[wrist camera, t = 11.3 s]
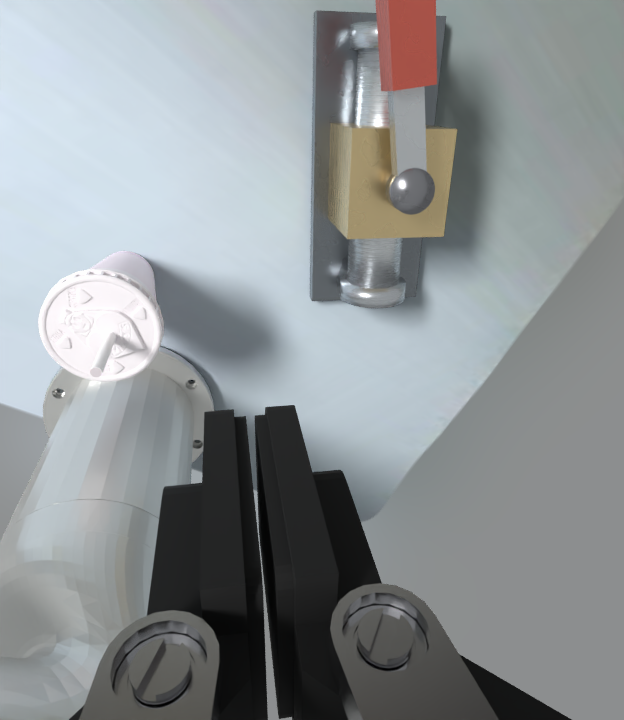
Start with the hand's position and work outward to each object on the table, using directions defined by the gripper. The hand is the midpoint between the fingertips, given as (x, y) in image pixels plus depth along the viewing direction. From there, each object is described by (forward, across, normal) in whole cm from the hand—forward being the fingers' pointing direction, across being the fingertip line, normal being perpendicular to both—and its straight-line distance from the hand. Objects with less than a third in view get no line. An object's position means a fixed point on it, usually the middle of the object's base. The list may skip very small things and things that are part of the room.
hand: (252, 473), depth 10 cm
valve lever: (+21, -9, -6) cm, 24 cm away
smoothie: (+29, +7, +5) cm, 31 cm away
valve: (+29, -10, -2) cm, 31 cm away
